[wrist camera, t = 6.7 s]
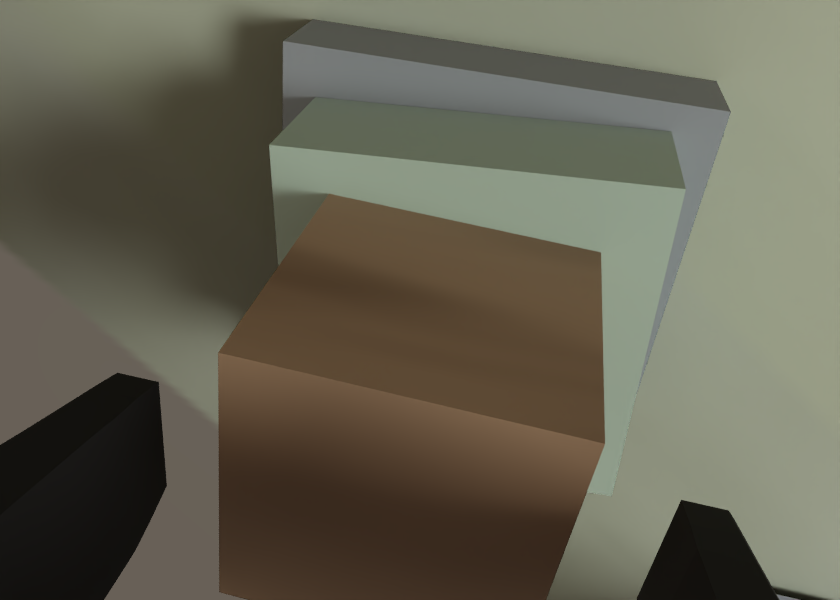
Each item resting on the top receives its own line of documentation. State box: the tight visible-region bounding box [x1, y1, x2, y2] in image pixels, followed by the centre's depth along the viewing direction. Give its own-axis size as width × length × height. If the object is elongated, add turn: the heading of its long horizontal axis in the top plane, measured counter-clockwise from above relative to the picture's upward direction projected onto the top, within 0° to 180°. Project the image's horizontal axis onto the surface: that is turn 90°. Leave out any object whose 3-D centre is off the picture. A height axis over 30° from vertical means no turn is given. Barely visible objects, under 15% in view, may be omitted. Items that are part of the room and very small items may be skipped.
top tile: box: [269, 97, 686, 496], centre depth 15 cm, size 6×6×2 cm
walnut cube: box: [218, 194, 605, 600], centre depth 12 cm, size 4×4×4 cm
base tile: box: [283, 19, 731, 391], centre depth 17 cm, size 8×8×2 cm
